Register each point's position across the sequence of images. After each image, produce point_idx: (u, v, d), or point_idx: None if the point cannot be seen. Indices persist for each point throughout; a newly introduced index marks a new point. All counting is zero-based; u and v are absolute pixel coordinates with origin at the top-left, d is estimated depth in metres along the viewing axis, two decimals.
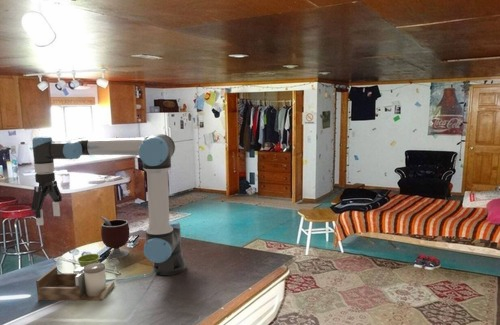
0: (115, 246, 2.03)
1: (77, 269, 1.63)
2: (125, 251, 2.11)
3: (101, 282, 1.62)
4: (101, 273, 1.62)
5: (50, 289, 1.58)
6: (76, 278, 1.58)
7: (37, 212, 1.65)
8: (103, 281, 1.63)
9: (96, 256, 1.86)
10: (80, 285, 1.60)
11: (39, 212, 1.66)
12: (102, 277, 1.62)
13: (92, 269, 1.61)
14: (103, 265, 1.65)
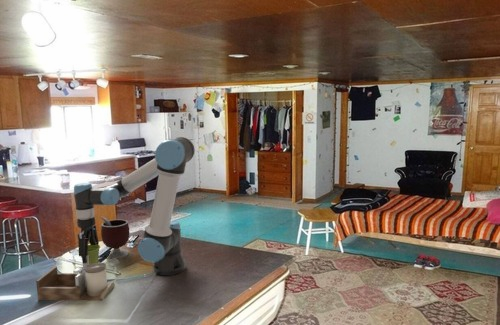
0: (115, 246, 2.03)
1: (77, 269, 1.63)
2: (125, 251, 2.11)
3: (102, 281, 1.62)
4: (102, 273, 1.62)
5: (50, 289, 1.58)
6: (76, 278, 1.58)
7: (84, 258, 1.76)
8: (104, 281, 1.63)
9: (97, 246, 1.85)
10: (80, 285, 1.60)
11: (85, 257, 1.76)
12: (103, 277, 1.63)
13: (93, 268, 1.62)
14: (104, 265, 1.65)
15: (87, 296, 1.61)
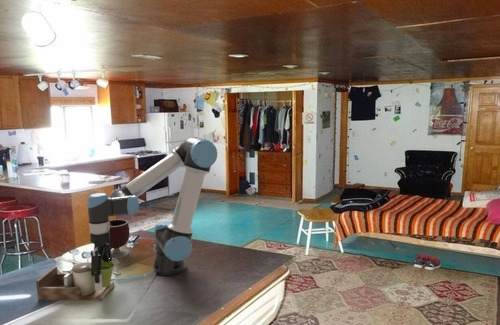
0: (115, 246, 2.03)
1: (66, 269, 1.63)
2: (125, 251, 2.11)
3: (90, 281, 1.63)
4: (90, 272, 1.62)
5: (50, 289, 1.58)
6: (65, 278, 1.58)
7: (96, 277, 1.57)
8: (92, 280, 1.64)
9: (110, 264, 1.67)
10: (69, 285, 1.61)
11: (98, 277, 1.58)
12: (91, 276, 1.63)
13: (81, 268, 1.62)
14: None
15: (87, 296, 1.61)
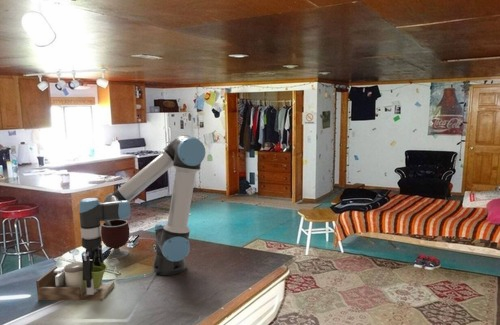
0: (115, 246, 2.03)
1: (58, 269, 1.63)
2: (125, 251, 2.11)
3: (81, 281, 1.63)
4: (81, 272, 1.62)
5: (50, 289, 1.58)
6: (56, 278, 1.59)
7: (88, 282, 1.58)
8: (83, 280, 1.64)
9: (102, 266, 1.67)
10: (60, 285, 1.61)
11: (90, 281, 1.59)
12: (82, 276, 1.63)
13: (73, 268, 1.62)
14: None
15: (87, 296, 1.61)
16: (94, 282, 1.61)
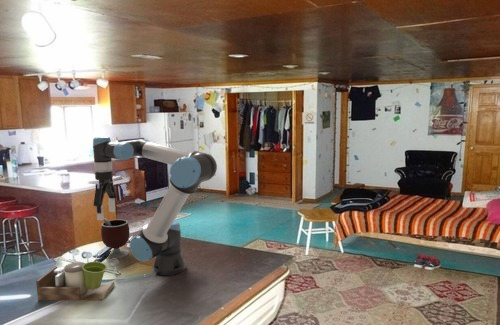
0: (115, 246, 2.03)
1: (58, 269, 1.63)
2: (125, 251, 2.11)
3: (81, 281, 1.63)
4: (81, 272, 1.62)
5: (50, 289, 1.58)
6: (56, 278, 1.59)
7: (98, 208, 1.76)
8: (83, 280, 1.64)
9: (102, 266, 1.67)
10: (60, 285, 1.61)
11: (100, 208, 1.76)
12: (82, 276, 1.63)
13: (72, 268, 1.62)
14: None
15: (87, 296, 1.61)
16: (94, 282, 1.61)
